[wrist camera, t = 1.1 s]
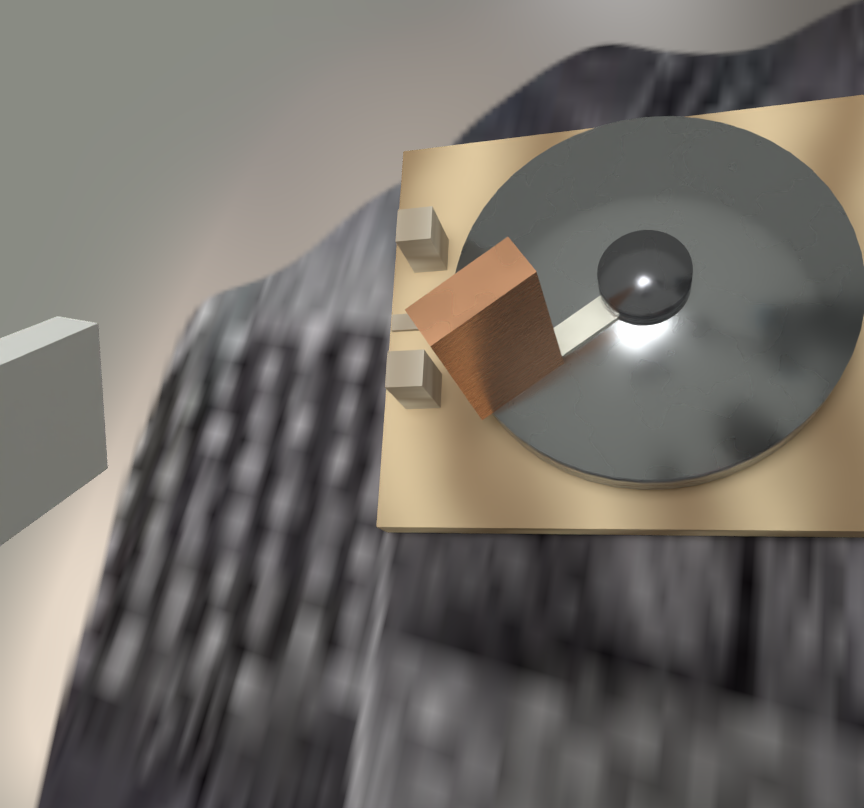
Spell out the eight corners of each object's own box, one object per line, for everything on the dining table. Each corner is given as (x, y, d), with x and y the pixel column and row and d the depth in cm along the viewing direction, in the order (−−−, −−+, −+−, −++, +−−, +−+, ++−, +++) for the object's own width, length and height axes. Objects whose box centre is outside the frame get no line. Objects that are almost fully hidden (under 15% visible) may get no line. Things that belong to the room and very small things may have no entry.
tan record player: (956, 104, 34) (998, 28, 30) (1036, 539, 29) (1101, 518, 24) (411, 168, 41) (384, 113, 37) (387, 532, 35) (352, 514, 31)
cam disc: (681, 83, 36) (690, -114, 27) (949, 333, 30) (1080, 186, 21) (390, 289, 37) (303, 165, 28) (591, 577, 31) (564, 539, 21)
